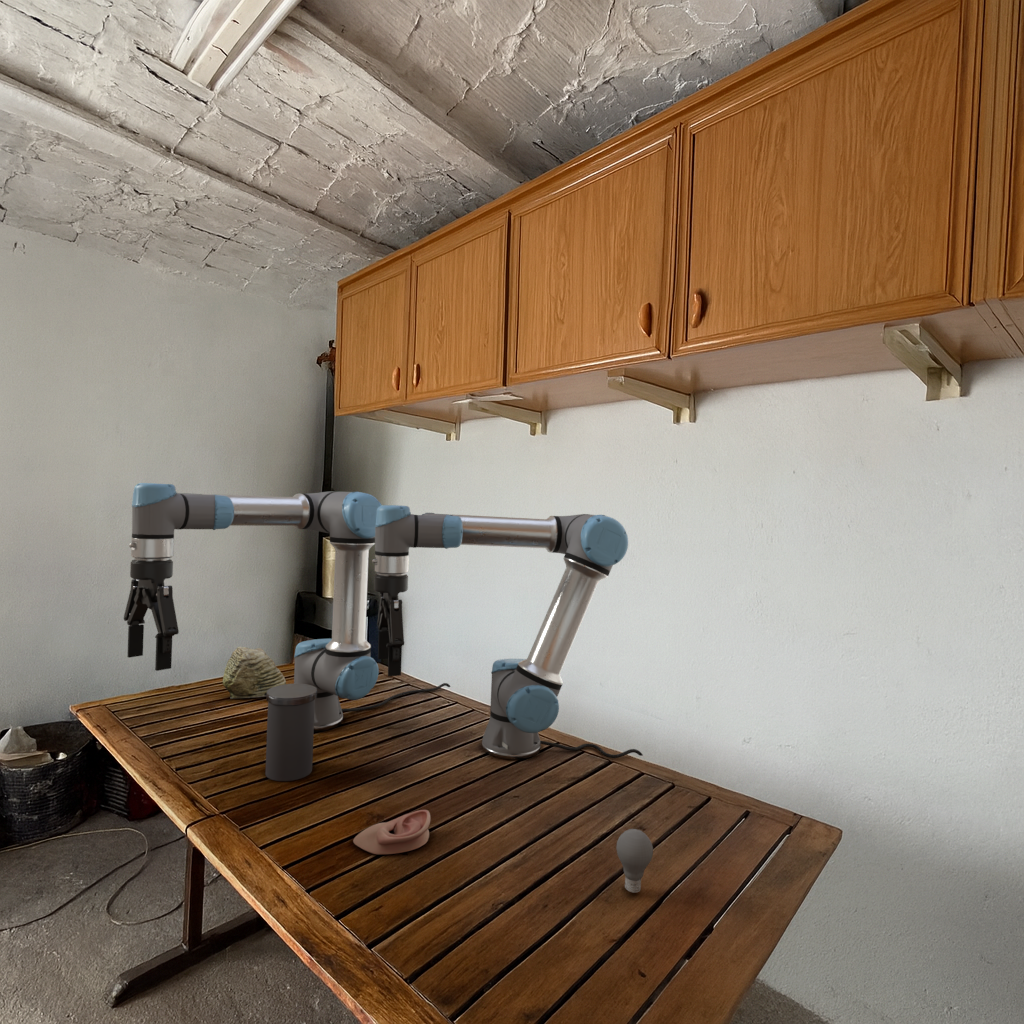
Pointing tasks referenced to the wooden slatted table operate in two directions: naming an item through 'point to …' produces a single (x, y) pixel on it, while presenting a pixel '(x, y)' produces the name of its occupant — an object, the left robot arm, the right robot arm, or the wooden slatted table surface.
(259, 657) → the fossil
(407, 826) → the anatomical model
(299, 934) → the wooden slatted table surface
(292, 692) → the lid
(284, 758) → the jar
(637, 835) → the light bulb
